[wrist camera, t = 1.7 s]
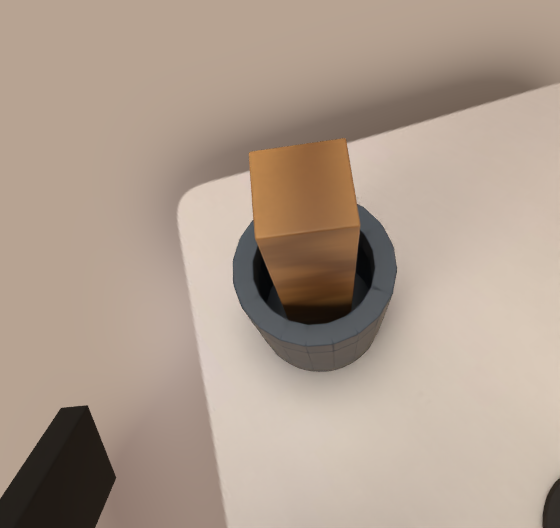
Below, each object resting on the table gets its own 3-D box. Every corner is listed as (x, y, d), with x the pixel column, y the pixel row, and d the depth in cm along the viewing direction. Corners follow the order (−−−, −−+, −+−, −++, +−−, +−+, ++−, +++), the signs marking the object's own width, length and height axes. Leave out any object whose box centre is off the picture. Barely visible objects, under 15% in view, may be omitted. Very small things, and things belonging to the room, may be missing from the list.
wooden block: (295, 337, 34) (254, 239, 17) (290, 286, 35) (248, 150, 19) (349, 331, 34) (360, 225, 17) (341, 280, 35) (345, 136, 18)
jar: (244, 281, 37) (212, 227, 27) (349, 238, 37) (353, 171, 28) (285, 391, 33) (265, 372, 24) (401, 343, 33) (426, 306, 24)
